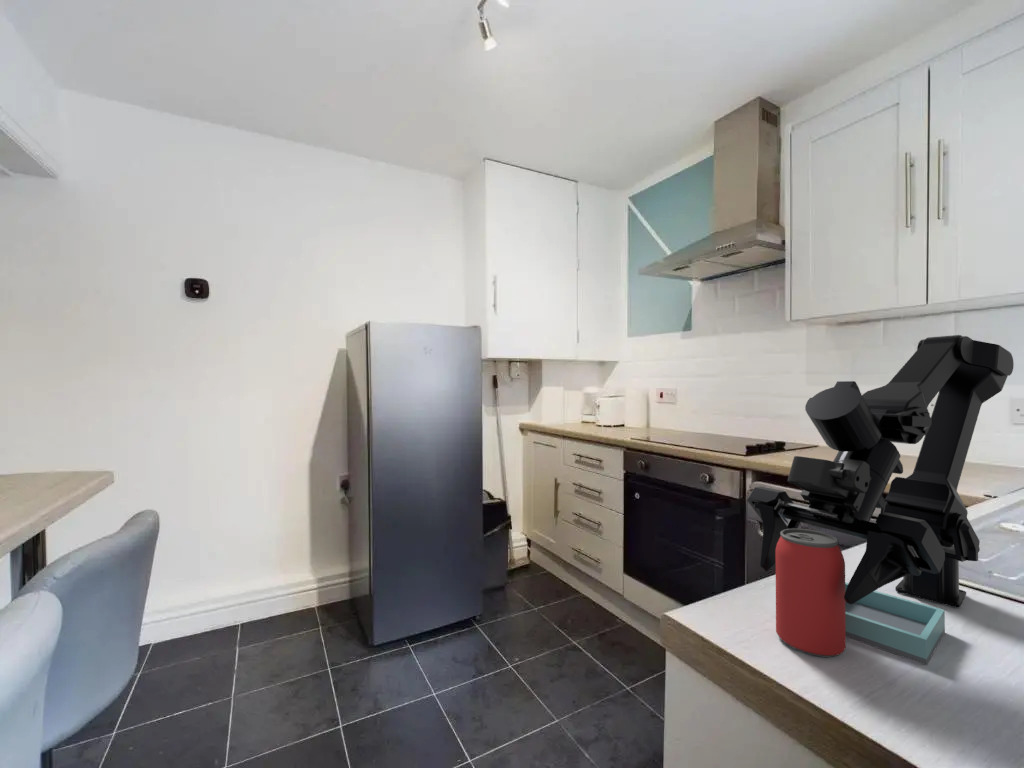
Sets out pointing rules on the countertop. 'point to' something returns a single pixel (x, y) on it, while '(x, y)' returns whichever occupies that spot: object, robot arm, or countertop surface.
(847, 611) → the tray
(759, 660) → the countertop surface
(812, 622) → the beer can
